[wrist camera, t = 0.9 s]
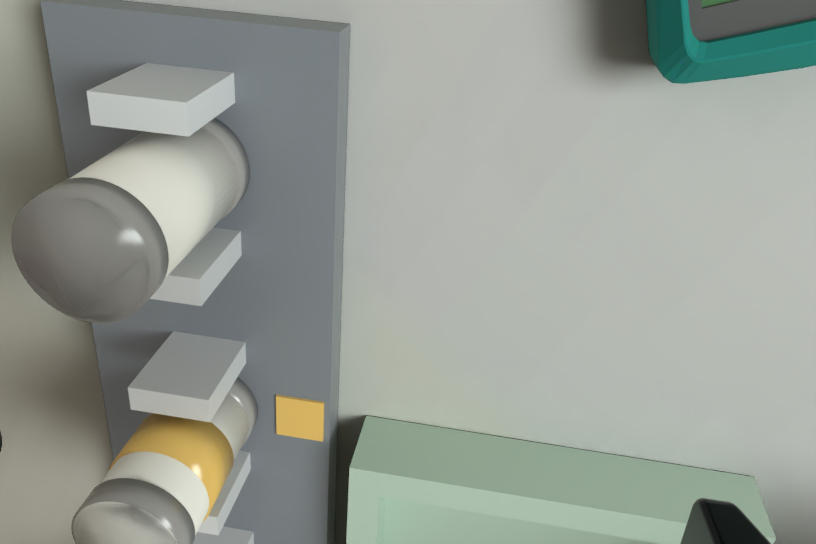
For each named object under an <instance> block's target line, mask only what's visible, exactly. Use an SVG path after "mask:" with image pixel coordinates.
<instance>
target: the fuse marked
mask: <svg viewBox="0 0 816 544" xmlns="http://www.w3.org/2000/svg"><path fill="white" fill-rule="evenodd" d="M257 418H258V405H257V401H256V399H255V396H254V395H253V393H252V391H251V390H250V388H249V387H248V386H247V385H246V384H245V383H244V382H243V381H242V380H241V379H240V378H238V377H237V379H236V380H235V382H234V384H233V385H232V387H231V389H230V390H229V392H228V394H227V395H226V397H225V399H224V400H223V402H222V404H221V405H220V407H219V408H218V410H217V412H216V413H215V415H214V417H213V418H212V420H211V422H205V421H198V420H192V419H186V418H180V417H174V416H168V415H162V414H155V413H151V414H150V415H149V416H148V417H146V418H145V419H144V420H143V422H142V423H141V424H140V426H139V427H138V428H137V430H136V431H135V432H134V434H133V435H132V436H131V438H130V439H129V441H128V442H127V443H126V445H125V446H124V447H123V449H122V450H121V452H120V453H119V454H118V456H117V457H116V458H115V460H114V461H113V462H112V464H111V466H110V468H109V471H108V473H107V474H106V476H105V477H104V479H103V480H102V481H101V483H100V484H99V485H98V486H96V487H95V488H94V489H93V491H92V492H91V493H90V495H89V496H88V497H87V499H86V500H85V501H84V503H83V504H82V506H81V507H80V508H79V510H78V511H77V512H76V514H75V516H74V518H73V520H72V528H71V529H72V535H73V539H74V541H75V543H76V544H193V542H194V539H195V535H196V533H197V531H198V530H199V528H200V526H201V524H202V523H203V522H204V521H205V519H206V518H207V517H208V515H209V513H210V511H211V509H212V507H213V505H214V503H215V501H216V500H217V498H218V496H219V494H220V492H221V490H222V488H223V486H224V484H225V482H226V480H227V478H228V476H229V474H230V473H231V470H232V468H233V464H234V461H235V459H236V457H237V455H238V453H239V451H240V449H241V447H242V446H243V445H244V444H245V442H246V441H247V439H248V437H249V435H250V433H251V431H252V430H253V428H254V426H255V424H256V421H257Z"/></svg>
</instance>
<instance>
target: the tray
mask: <svg viewBox="0 0 816 544" xmlns="http://www.w3.org/2000/svg"><path fill="white" fill-rule="evenodd" d="M700 498H708V499H715V500H721V501H728V502H731V503H733V504H735V505H736V506H737V507H738V508H739V509H740V510H741V511H742V512H743V513H744V514H745V515H746V516H747V517H748V518H749V520H750V521H751V522H752V523H753V524H754V525H755V526H756V527H757V528H758V530H759V531H760V532H761V533H762V534H763V535H764V536H765V537H766V538H767V539H768V541H769V542H770V543H771V544H774V542H775V540H776V537H775V534H774V531H773V529H772V526H771V523H770V520H769V517H768V515H767V512H766V509H765V506H764V504H763V501H762V498H761V495H760V493H759V490H758V487H757V484H756V482H755V479H754V477H752V476H745V475H739V474H733V473H726V472H720V471H714V470H707V469H701V468H695V467H688V466H682V465H676V464H669V463H663V462H657V461H650V460H644V459H638V458H631V457H625V456H619V455H612V454H606V453H600V452H593V451H587V450H581V449H574V448H568V447H562V446H555V445H549V444H543V443H536V442H530V441H524V440H517V439H511V438H505V437H498V436H492V435H486V434H479V433H473V432H467V431H460V430H454V429H448V428H441V427H435V426H429V425H422V424H416V423H410V422H403V421H397V420H391V419H384V418H378V417H372V416H366V418H365V421H364V424H363V427H362V430H361V433H360V436H359V439H358V443H357V446H356V449H355V452H354V455H353V458H352V461H351V464H350V467H349V489H348V512H347V536H346V544H680V543H681V540H682V537H683V534H684V531H685V528H686V525H687V521H688V518H689V515H690V512H691V509H692V506H693V504H694V503H695V501H696V500H697V499H700Z"/></svg>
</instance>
